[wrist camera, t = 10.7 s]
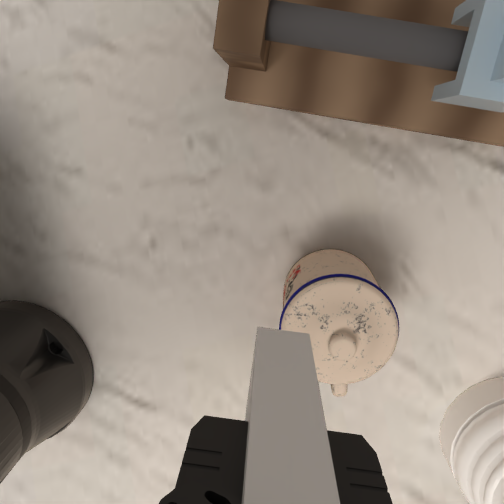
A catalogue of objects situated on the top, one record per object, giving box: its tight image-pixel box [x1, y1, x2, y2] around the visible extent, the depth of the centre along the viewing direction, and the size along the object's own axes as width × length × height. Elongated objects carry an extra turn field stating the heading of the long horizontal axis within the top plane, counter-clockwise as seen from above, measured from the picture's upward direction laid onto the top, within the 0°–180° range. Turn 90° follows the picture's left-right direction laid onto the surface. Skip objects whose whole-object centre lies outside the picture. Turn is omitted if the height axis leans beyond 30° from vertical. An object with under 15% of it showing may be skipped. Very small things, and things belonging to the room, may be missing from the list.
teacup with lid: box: [279, 249, 399, 397], centre depth 37 cm, size 12×9×12 cm
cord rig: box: [213, 0, 504, 147], centre depth 32 cm, size 25×10×10 cm, turn 81°
